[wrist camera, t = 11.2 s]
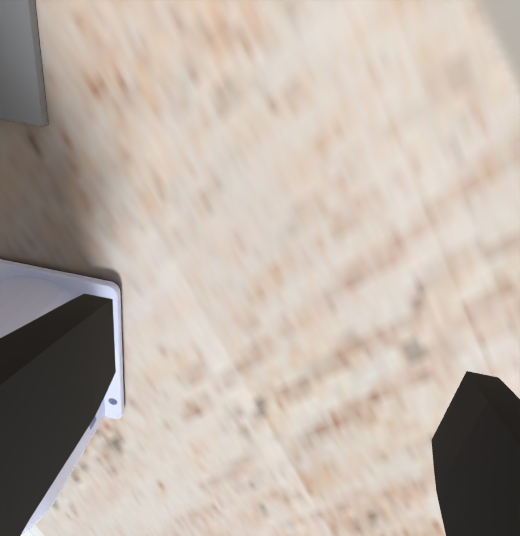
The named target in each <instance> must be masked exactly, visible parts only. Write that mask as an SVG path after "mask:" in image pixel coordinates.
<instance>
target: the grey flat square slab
mask: <svg viewBox="0 0 520 536" xmlns="http://www.w3.org/2000/svg"><path fill="white" fill-rule="evenodd" d="M0 119H3V120H8V121H14V122H19V123H25V124H30V125H36V126H41V127H43V126H46V125H48V118H47V109H46V99H45V90H44V81H43V71H42V62H41V53H40V44H39V34H38V25H37V16H36V7H35V0H0Z"/></svg>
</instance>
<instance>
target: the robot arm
mask: <svg viewBox="0 0 520 536" xmlns="http://www.w3.org/2000/svg"><path fill="white" fill-rule="evenodd" d="M107 297H108V298H107ZM123 413H124V390H123V359H122V328H121V297H120V288H119V287H118V285H116V284H115V283H114V282H111V281H107V280H102V279H97V278H92V277H87V276H82V275H77V274H72V273H67V272H62V271H57V270H52V269H47V268H42V267H37V266H32V265H27V264H22V263H17V262H12V261H7V260H2V259H0V536H20V535H21V534H23V533H24V532H26V531H27V530H28V529H30V528H31V527H32V526H34V525H35V524H36V523H37V522H38V521H39V520H40V519H41V518H42V517H43V516H44V515H45V514H46V513H47V512H48V511H49V509H50V508H51V507H52V505H53V504H54V502H55V501H56V499H57V497H58V495H59V494H60V492H61V490H62V489H63V487H64V485H65V483H66V482H67V480H68V478H69V476H70V475H71V473H72V471H73V470H74V468H75V466H76V464H77V463H78V461H79V459H80V457H81V456H82V454H83V452H84V451H85V449H86V447H87V445H88V444H89V442H90V440H91V439H92V437H93V435H94V433H95V432H96V430H97V428H98V426H99V425H100V423H101V421H102V420H103V418H104V417H108V418H112V419H119V418H121V417H122V415H123ZM432 450H433V462H434V473H435V482H436V491H437V496H438V500H439V505H440V510H441V514H442V519H443V523H444V528H445V532H446V536H520V399H519V398H518V397H517V396H516V395H515V394H514V393H513V392H512V391H511V390H510V389H509V388H508V387H507V386H506V385H505V384H504V383H503V382H502V381H501V380H500V379H499V378H497V377H493V376H488V375H483V374H478V373H473V372H468V371H467V372H466V374H465V376H464V378H463V380H462V381H461V383H460V385H459V387H458V389H457V391H456V393H455V395H454V397H453V399H452V401H451V403H450V405H449V407H448V409H447V411H446V413H445V415H444V417H443V419H442V421H441V423H440V425H439V427H438V429H437V431H436V433H435V434H434V436H433V438H432Z"/></svg>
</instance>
